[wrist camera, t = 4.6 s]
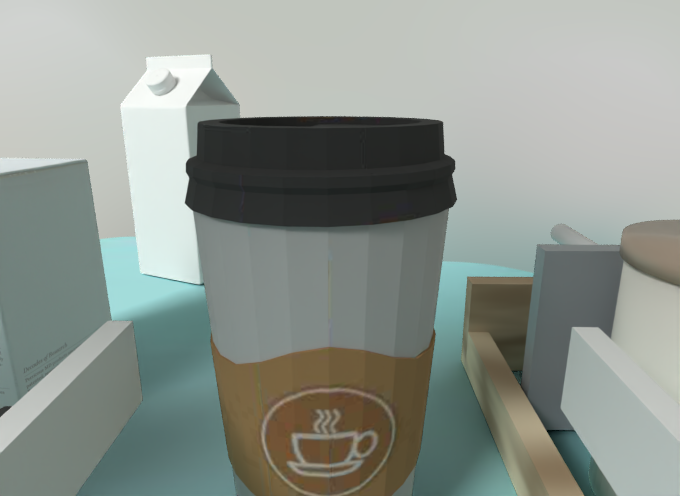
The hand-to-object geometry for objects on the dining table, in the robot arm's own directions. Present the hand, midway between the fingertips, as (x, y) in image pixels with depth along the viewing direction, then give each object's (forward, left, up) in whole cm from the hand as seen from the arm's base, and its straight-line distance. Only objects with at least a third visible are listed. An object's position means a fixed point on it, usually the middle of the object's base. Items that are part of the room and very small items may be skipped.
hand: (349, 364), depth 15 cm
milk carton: (+25, +25, -8) cm, 36 cm away
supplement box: (+4, +21, -8) cm, 22 cm away
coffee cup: (+2, +2, -8) cm, 9 cm away
